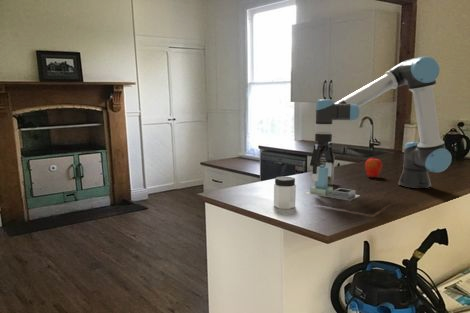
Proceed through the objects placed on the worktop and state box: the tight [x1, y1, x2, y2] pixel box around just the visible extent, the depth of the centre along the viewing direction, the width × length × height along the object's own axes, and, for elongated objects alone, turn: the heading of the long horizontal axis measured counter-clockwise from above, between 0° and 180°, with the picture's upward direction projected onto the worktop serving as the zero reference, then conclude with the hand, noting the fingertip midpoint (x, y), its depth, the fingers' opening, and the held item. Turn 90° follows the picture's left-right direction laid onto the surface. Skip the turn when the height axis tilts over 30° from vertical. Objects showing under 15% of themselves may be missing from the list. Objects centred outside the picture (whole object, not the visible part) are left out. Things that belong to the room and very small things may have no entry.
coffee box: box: [314, 154, 336, 186], centre depth 201 cm, size 9×6×16 cm
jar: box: [273, 176, 297, 210], centre depth 159 cm, size 9×8×12 cm
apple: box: [364, 157, 383, 178], centre depth 221 cm, size 9×9×12 cm
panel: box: [305, 185, 361, 201], centre depth 177 cm, size 22×12×4 cm, turn 51°
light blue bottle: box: [315, 165, 329, 189], centre depth 180 cm, size 4×4×13 cm
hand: (321, 178), depth 180 cm, fingers open, 13 cm apart
